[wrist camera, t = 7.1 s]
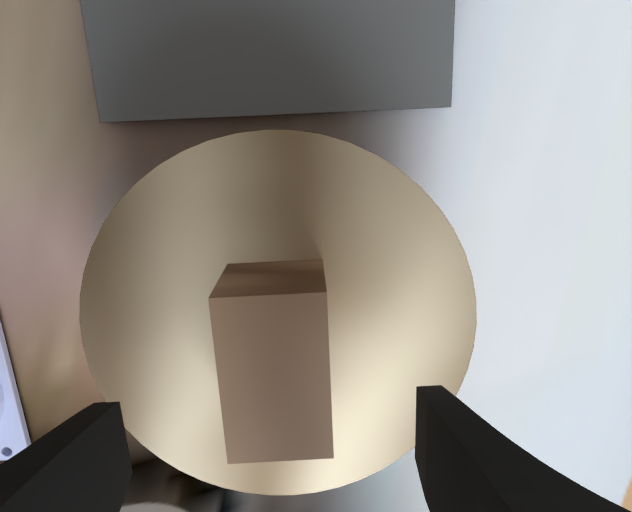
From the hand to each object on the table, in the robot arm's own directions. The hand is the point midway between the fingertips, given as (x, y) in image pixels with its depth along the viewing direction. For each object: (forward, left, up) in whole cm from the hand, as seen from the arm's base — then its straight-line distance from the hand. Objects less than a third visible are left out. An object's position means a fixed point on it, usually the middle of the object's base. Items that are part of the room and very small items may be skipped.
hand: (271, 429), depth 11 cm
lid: (0, +1, -5) cm, 5 cm away
